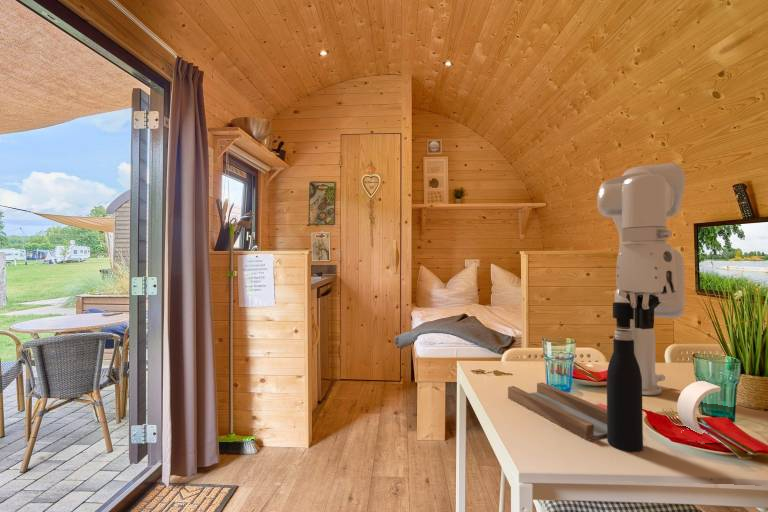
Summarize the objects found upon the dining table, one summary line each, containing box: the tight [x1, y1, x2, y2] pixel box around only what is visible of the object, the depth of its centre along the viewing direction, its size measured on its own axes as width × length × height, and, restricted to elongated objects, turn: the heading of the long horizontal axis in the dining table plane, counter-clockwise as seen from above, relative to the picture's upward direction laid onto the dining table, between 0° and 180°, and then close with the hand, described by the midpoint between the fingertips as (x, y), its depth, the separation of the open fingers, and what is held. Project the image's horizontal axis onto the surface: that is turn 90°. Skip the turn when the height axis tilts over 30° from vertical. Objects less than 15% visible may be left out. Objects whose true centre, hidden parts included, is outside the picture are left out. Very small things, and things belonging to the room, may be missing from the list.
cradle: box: [507, 382, 607, 441], centre depth 101 cm, size 12×28×3 cm, turn 19°
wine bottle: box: [606, 301, 644, 453], centre depth 84 cm, size 6×6×30 cm
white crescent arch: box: [676, 380, 722, 444], centre depth 87 cm, size 5×6×12 cm
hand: (644, 328), depth 79 cm, fingers closed
